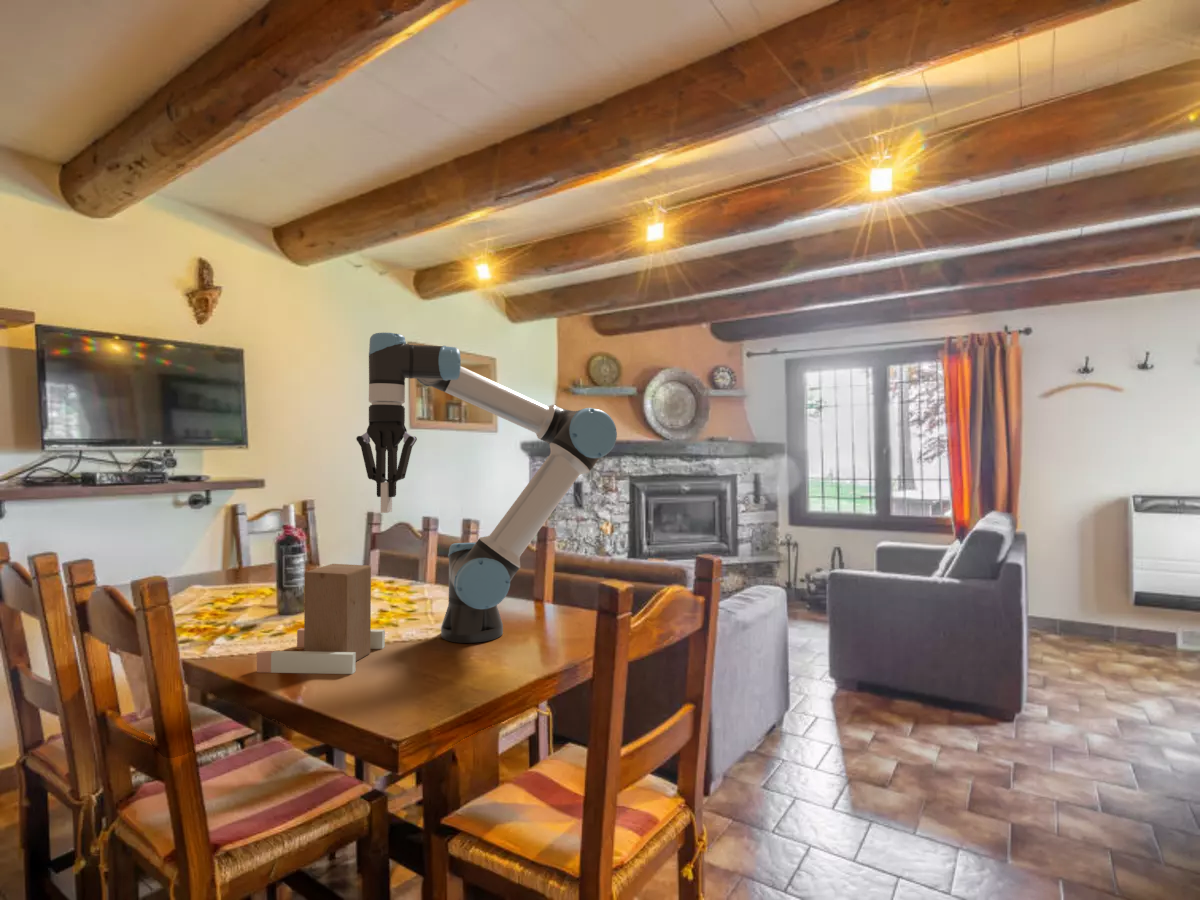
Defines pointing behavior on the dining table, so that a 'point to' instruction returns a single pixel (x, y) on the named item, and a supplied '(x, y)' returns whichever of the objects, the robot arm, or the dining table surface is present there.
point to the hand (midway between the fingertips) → (386, 511)
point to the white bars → (313, 658)
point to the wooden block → (338, 609)
